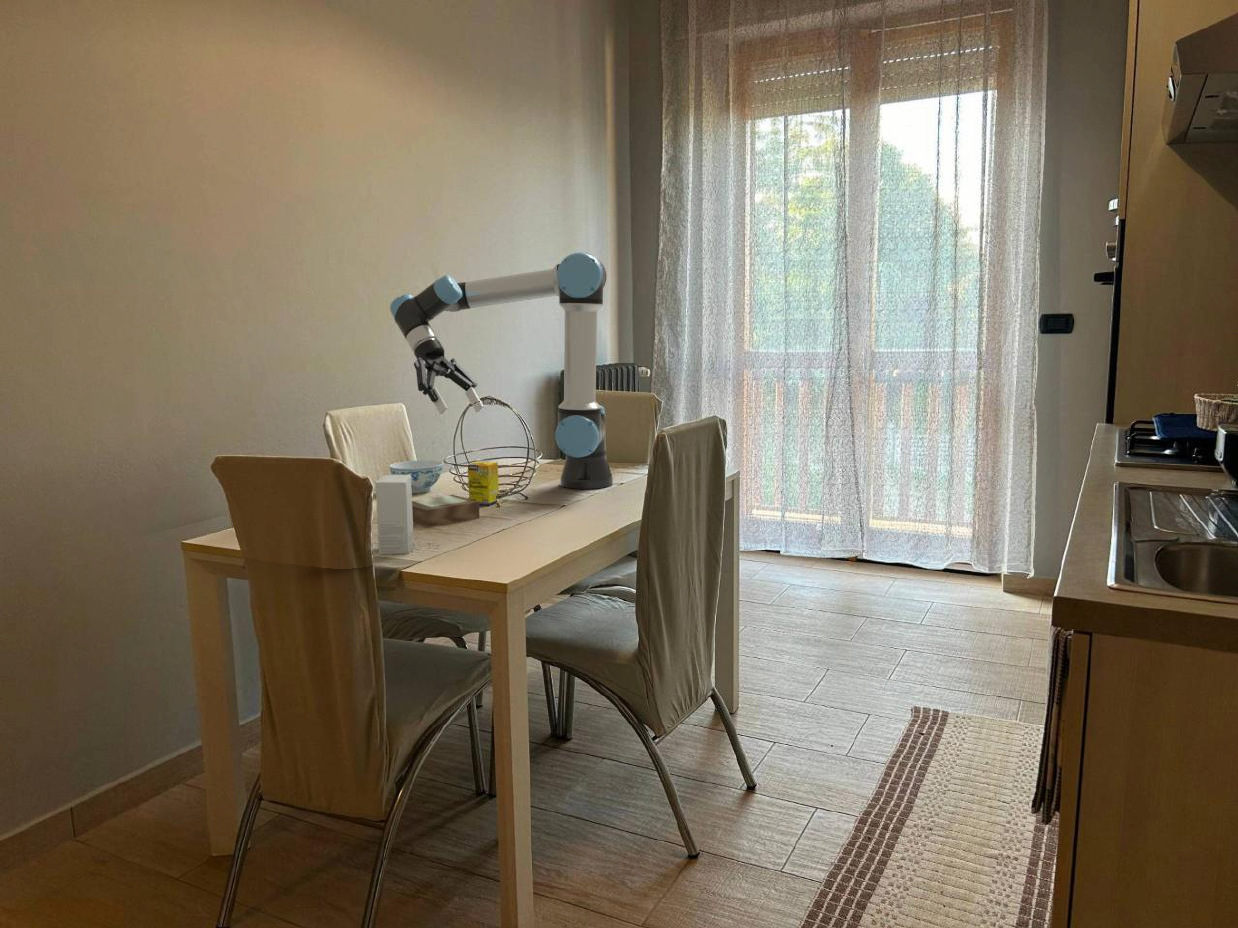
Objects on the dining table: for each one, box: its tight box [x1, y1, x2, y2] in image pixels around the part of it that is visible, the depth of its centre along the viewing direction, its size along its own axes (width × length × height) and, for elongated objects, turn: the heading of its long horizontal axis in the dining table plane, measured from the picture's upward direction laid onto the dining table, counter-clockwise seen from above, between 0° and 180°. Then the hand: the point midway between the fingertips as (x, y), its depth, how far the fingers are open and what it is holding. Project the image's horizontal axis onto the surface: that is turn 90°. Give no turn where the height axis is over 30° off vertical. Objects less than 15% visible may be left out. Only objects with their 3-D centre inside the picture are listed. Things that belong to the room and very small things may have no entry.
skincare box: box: [375, 474, 415, 556], centre depth 194 cm, size 8×7×16 cm
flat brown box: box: [412, 494, 480, 528], centre depth 225 cm, size 14×13×4 cm
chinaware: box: [388, 459, 444, 494], centre depth 262 cm, size 15×15×8 cm
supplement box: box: [467, 460, 500, 507], centre depth 242 cm, size 6×6×11 cm
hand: (462, 410), depth 242 cm, fingers open, 13 cm apart
